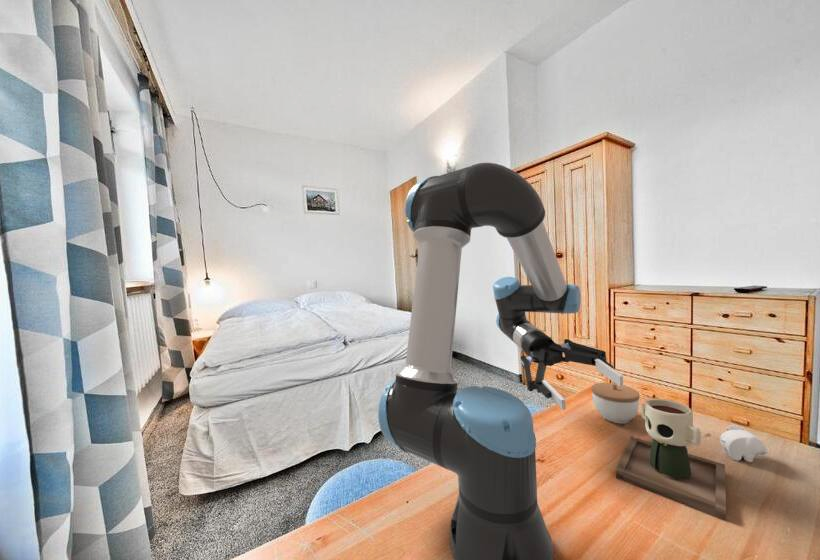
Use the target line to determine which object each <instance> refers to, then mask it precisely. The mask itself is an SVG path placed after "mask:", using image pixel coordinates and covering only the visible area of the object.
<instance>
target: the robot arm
mask: <svg viewBox="0 0 820 560" xmlns="http://www.w3.org/2000/svg"><path fill="white" fill-rule="evenodd" d="M404 214H405V217H406V218H407V220H406V223H407V225H408V227H409V229H410V230H411V231H412V233H413V238H414V239H415V241H416V242H417V243H418V244H419V248H418V255H417V256H418V257H417V263H416V270H415V271H416V272H415V273H416V274H415V280H414V289H413V296H412V298H413V299H412V305H411V314H410V323H409V333H408V341H407V348H406V356H405V363H404V365H403V366H402V367H401V368H400V369H398V370H397V371H396V373H395V380H392V381H391V382H390V383H388V384H387V385H386V387H385V391H384V392H383V393H382V394H381V396H380V399H379V404H378V409H377V410H378V412H377V415H378V416H377V418H378V425H379V428H380V432H381V433H382V434H383V437H384V438H385V439H386V441H388V443H390V444H392V446H393V445H394V446H395V447H396V448H398V449H399V450H401V451H402V452H404V453H407V454H411V455H414V456H416V457H418V458H420V459H422V460H425V461H426V462H429V463H432V464H434V465H436V466H439V467H441V468H443V469H445V470H448V471H451V472H453V473H455V474H457V480H458V482H457V483H458V495H457V499H456V503H455V506H454V509H453V513H452V517H451V520H450V526H449V535H450V539H449V540H450V549H451V554H452V556H453V557H452V558H453V559H455V560H554V553H553V542H552V539H551V535H550V533H549V531H548V528H547V526H546V522H545V519H544V517H543V514H542V512H541V509H540V506H539V504H538V488H537V487H538V482H537V464H536V463H537V459H536V447H537V438H536V434H535V430H534V420H533V419H534V418H533V416H532V412H531V411H530V409H529V408H528V406H526V404H525V403H524V402H523V401H522V400H521V399H519V397H517V396H515V395H514V394H512V393H511V392H509V391H505V390H502V389H500V388H497V387H491V386H485V385H483V386H482V387H481V386H478V385H473V386H466V387H464V388H461V389H460V390H459V391H458V385H459V379H457V377H456V376H455V375H454V373H453V372H452V359H453V347H454V339H455V338H454V337H455V327H456V317H457V316H456V315H457V307H458V305H457V303H458V293H459V282H460V271H461V261H462V250H463V248H464V247H465V246H466V245H468V244H469V243H470V242H471V237H472V236H471V234H472V229H475V228H480V227H481V228H482V227H486V226H487V227H489V226H490V227H493V228H494V229H495V230H496V232H497V233H498V235H499V236H502V238H506V239H507V241H508V244H509V246H510V247H511V249H512V251H513V253H514V255H515V256H516V259H517V261H518V262H519V264H520V266H521V268H522V270H523V272H524V274H525V275H526V278H527V279H528V281H529V283H530V284H524V285H522V284H521V283H520V281H519V279H518V278H517V277H513V276H505V277H501V278H499V279H497V280H495V282H494V283H493V285H492V290H493V298H494V300H495V301H494V302H495V304H496V308H497V311H498V314H497V316H496V320H495V323H496V325H497V328H499V330H500V331H501V332H502V333H503V334H504V335H506V336H507V337H508V338H509V339H510V341H512V342H513V343H514V344H515V345H516V346H517V347H518V348H520V350H521V351H522V352H523V353H524V354H525V355H521V356H520V361H521V365H522V367H523V369H524V374H525V379H526V381H525V382H526V386H527V391H528V392H533V391H534V390H536V392H537V393H538V394H542V395H543V396H544V397H545V398H546V399H551V400H552V401H553V402H554V403H555V404H556V405H557V406H558V407H559V408H560V410H562V411H565V410H566V409H567V406H566V400H565V398H564V397H563V396H562V395H561V394H560V393H559V392H558V391H557V390H556V389H555V388H554V386H552V385H551V384H550V383H549V382H548V381H546V379H545V374H546V369H547V367H553V366H554V365H555V364H560V363H562V362H564V363H569V362H573V363H577V364H582V365H588V366H594V367H595V369H596V370H597V371H598V372H600V374H602V375H603V376H605V377H606V378H608V379H609V380H610V381H612V383H616V384H617V385H618V386H620V387H621V386H623V385H624V375H623V374H621V373H620V372H618V371H617V370H616V369H615V368H614V365H612V364H611V363H609V362H608V361H607V352H606V351H604V350H602V349H598V348H595V347H591V346H587V345H584V344H580V343H577V342H573V341H572V340H570V339H568V338H565V339H564V340H563V343H561V344H558V343H556V342H555V341H554V340H553V339H552V338H551V337H550V336H549V335H547V333H545V332H543V331H542V330H541V329H540V328H539V327H537V326H535V325H534V324H532V322H530V321H529V320H528V319H527V314H526V313H544V314H545V313H547V314H548V313H549V314H561V315H563V314H577V313H578V312H579V311H580V308H581V305H582V304H581V302H582V299H581V297H582V295H581V290H580V287H579V286H578V285H577V284H570V283H566V280H565V276H564V275H563V272H562V268H561V266H560V263H559V261H558V258H557V256H556V253H555V250H554V248H553V245H552V242H551V239H550V237H549V235H548V231H547V229H546V226H545V224H544V221H545V217H546V209H545V207H544V204H543V201H542V198H541V197H540V195H539V193H538V192H537V190H536V189H535V188H534V187H533V185H531V184H530V183H529V181H528V180H526V178H524V177H523V176H522V175H520V174H519V173H518V172H516V171H514V170H513V169H511V168H510V167H507V166H505V165H502V164H497V163H494V162H479V163H475V164H472V165H470V166H467V167H464V168H460V169H457V170H453V171H450V172H447V173H443V174H440V175H433V176H428V177H426V179H424V180H421V181H418V182H417V183H416V184H414V185H413V186H412V187H411V189H410V190H409V191H408V194H407V196H406V199H405V204H404ZM563 354H564V355H563ZM526 355H527V357H526ZM532 363H534V364H537V368H536V373H535V379H534V380H533V378H532V371H531V365H532Z"/></svg>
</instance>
